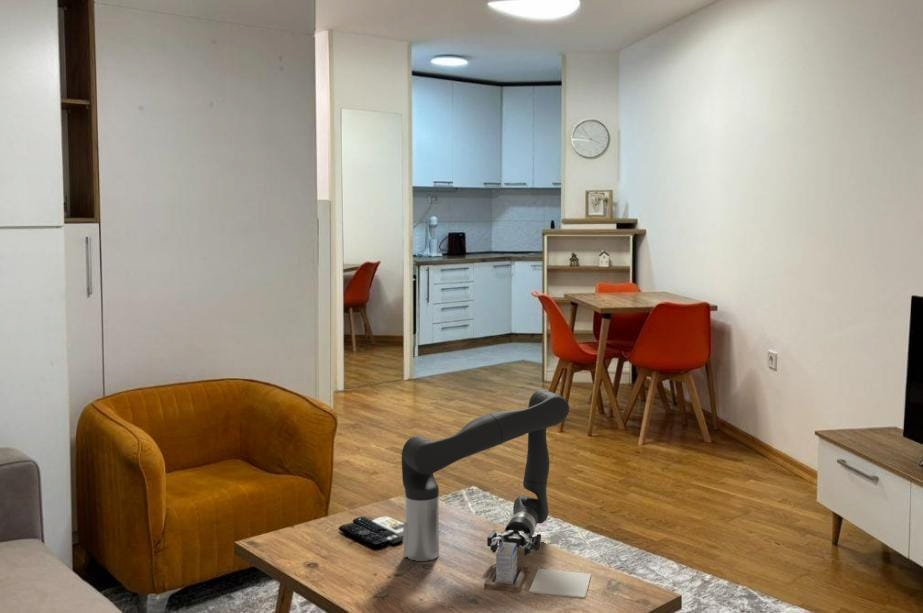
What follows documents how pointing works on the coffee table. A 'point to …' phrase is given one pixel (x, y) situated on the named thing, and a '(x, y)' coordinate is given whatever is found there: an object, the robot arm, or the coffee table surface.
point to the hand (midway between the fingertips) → (509, 550)
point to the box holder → (503, 586)
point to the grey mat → (560, 583)
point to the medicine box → (506, 563)
